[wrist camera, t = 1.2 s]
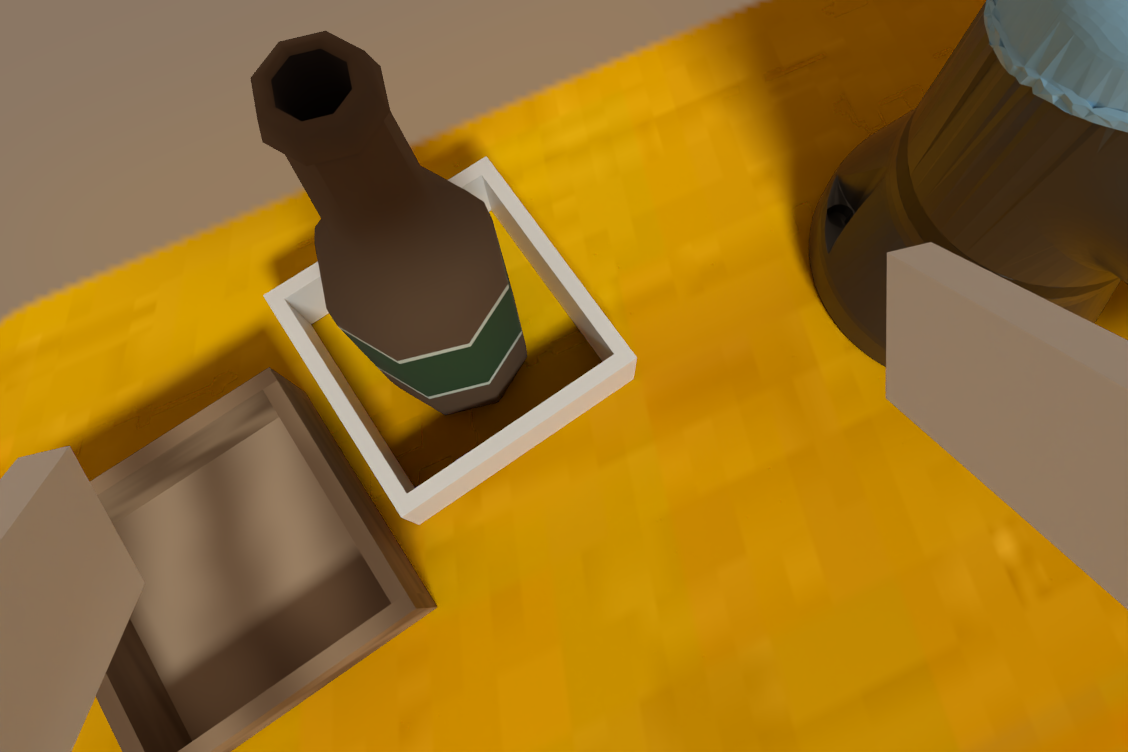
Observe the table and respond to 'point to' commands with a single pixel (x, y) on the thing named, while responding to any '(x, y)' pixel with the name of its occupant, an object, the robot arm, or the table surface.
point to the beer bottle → (391, 230)
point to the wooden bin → (245, 572)
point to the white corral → (306, 304)
